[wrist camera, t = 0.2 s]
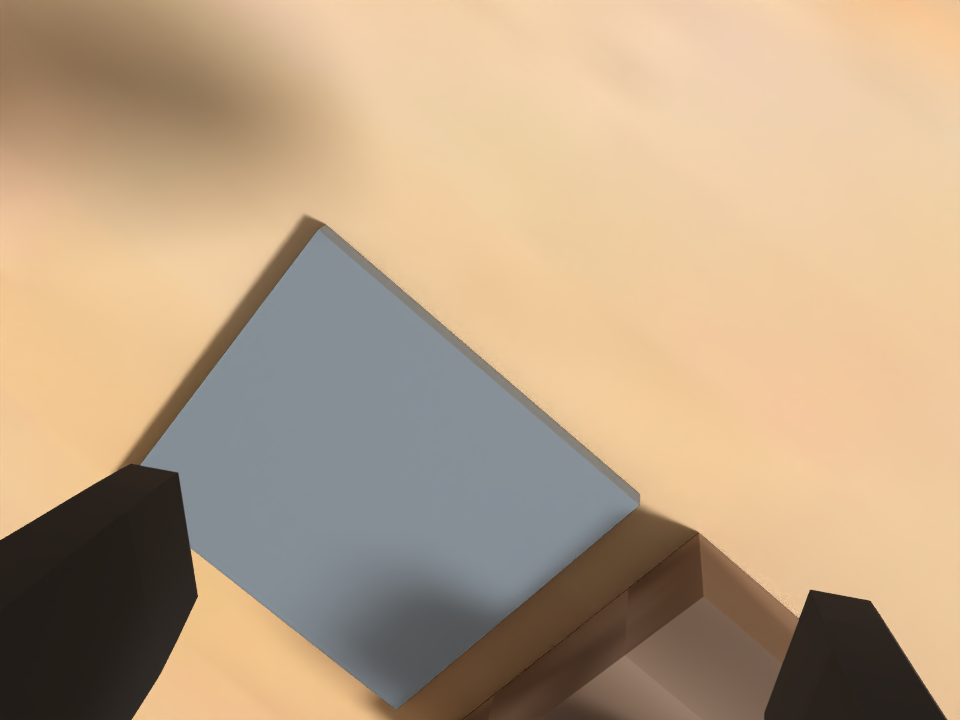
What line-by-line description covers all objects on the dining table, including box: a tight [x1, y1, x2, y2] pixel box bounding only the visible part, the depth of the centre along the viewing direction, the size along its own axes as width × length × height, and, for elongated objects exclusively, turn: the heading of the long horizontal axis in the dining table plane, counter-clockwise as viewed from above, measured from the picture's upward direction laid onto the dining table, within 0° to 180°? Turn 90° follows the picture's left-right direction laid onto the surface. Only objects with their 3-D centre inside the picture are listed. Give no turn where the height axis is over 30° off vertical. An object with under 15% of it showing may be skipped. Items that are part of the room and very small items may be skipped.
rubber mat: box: [140, 225, 640, 710], centre depth 22 cm, size 10×10×1 cm
